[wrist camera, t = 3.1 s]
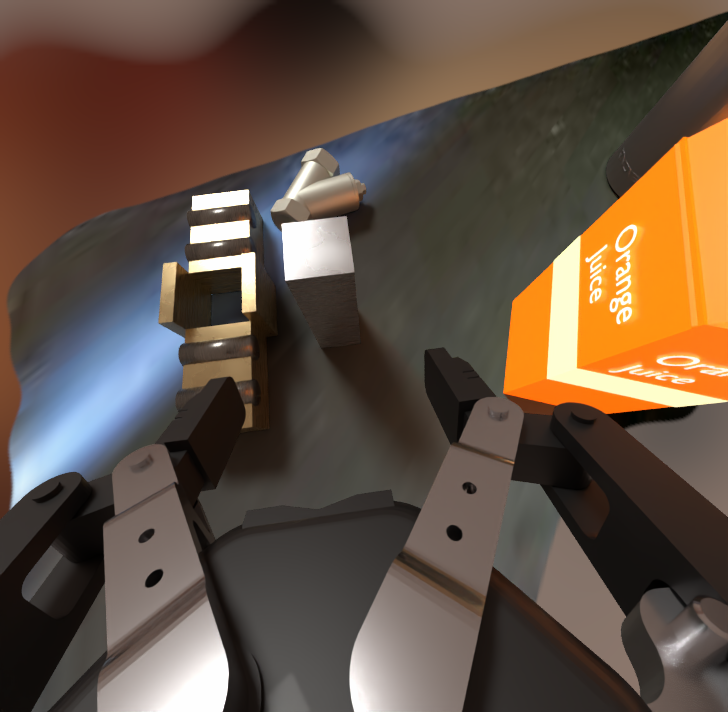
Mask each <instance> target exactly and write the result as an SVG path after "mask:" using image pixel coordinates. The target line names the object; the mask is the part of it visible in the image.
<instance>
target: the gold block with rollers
mask: <svg viewBox="0 0 728 712" xmlns="http://www.w3.org/2000/svg"><path fill="white" fill-rule="evenodd" d="M187 220H188V223H189V226H190V228H191V240H190V244H187V245H186V246H185V255H186V258H187V260H188V262H189V273H188V272H187V271H186V270H185V269H184V268H183V267H181V266H180V265H179V264H178V263H177V262H173V263H165V264H163V276H162V288H161V299H160V311H159V324H161V325H162V326H164V327H166V328H168V329H170V330H171V331H173V332H175V333H177V334H179V335H180V336H182V337H184V338H185V343H183V344H182V345H181V346H180V348H179V360H180V362H181V364H182V366H183V385H182V389H180V390H179V391H178V393H177V395H176V407H177V410H178V412H181V409H182V408H183V406H184V405H185V404H186V403H187V401H188V400H190V399H191V398H192V397H194V396H195V395H196V394H198V393H199V392H201V391H202V390H203V388H204V387H205V385H206V384H207V383H208V381H209V380H210V379H214V378H221V377H229V376H230V377H232V378H233V379H234V381H235V383H236V386H237V388H238V391H239V393H240V396H241V398H242V401H243V403H244V406H245V410H246V418H245V422H244V424H243V426H242V429H241V431H240V433H242V432H250V431H257V430H264V429H270V426H269V396H268V367H267V337H270V336H278V332H277V310H276V288H275V285H274V283H273V282H272V280H271V278H270V277H269V275H268V273H267V272H266V270H265V269H264V248H263V219H262V217H261V215H260V213H259V211H258V209H257V207H256V204H255V202H254V200H253V198H252V196H251V194H250V192H249V190H242V191H234V192H226V193H217V194H209V195H200V196H193V204H192V210H191V211H188V212H187ZM234 291H242V313H243V314H244V315H245V316H246V317H247V318H248V319H249V320H250V321H248V322H240V323H232V324H224V325H216V326H211V302H212V294H219V293H226V292H234Z"/></svg>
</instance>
